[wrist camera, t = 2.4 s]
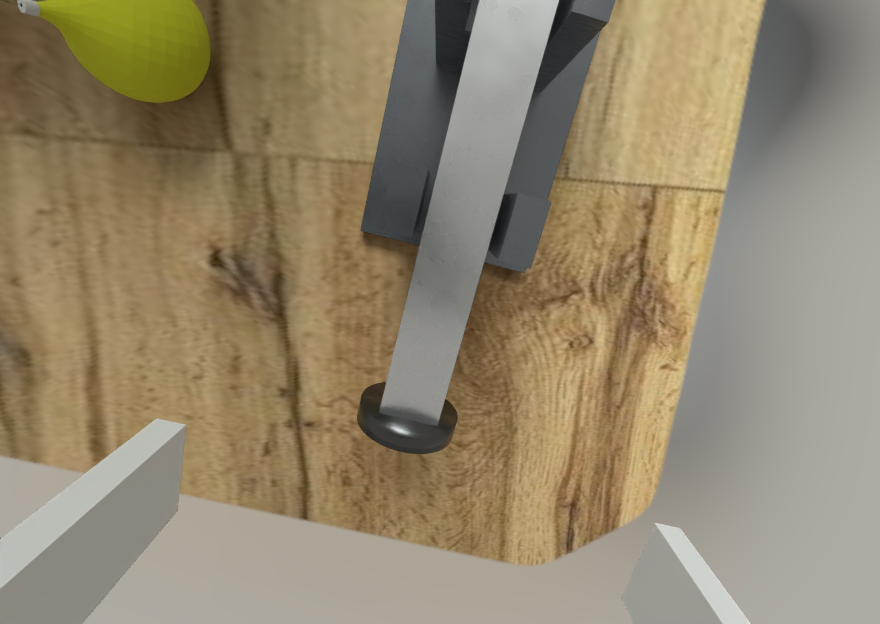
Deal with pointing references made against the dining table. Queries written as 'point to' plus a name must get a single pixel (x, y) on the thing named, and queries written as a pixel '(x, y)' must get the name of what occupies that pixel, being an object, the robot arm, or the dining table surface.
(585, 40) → the bracket
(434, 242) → the shaft
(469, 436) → the dining table surface
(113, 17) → the ornament
